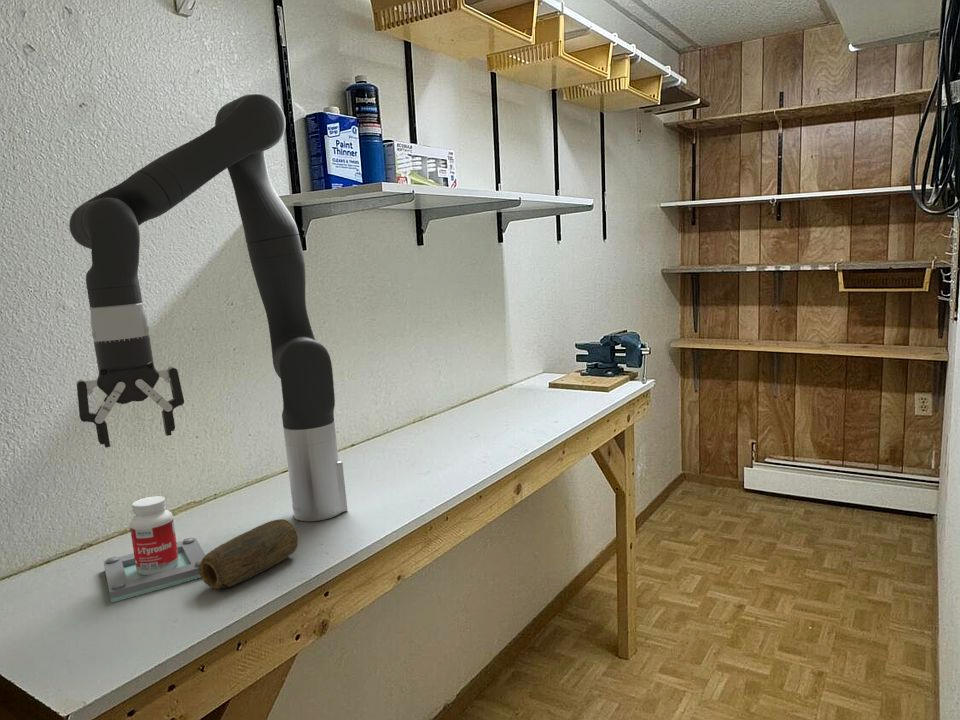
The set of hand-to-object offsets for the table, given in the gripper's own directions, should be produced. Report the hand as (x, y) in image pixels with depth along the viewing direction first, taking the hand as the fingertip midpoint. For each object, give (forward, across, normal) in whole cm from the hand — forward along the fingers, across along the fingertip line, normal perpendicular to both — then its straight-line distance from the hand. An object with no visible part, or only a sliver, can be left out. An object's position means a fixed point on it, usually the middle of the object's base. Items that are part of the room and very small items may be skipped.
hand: (138, 440), depth 108 cm
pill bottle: (+21, 0, 0) cm, 21 cm away
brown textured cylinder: (+22, -12, +10) cm, 27 cm away
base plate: (+21, 0, 0) cm, 21 cm away
